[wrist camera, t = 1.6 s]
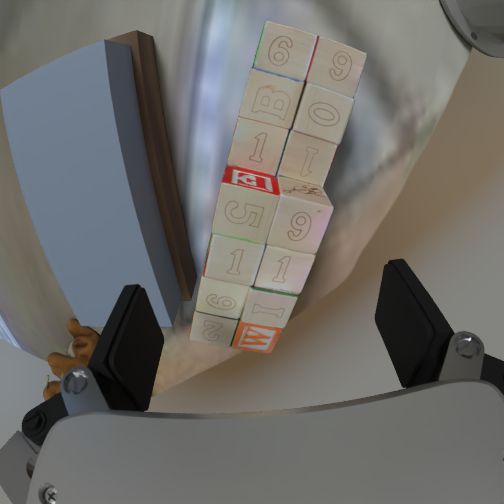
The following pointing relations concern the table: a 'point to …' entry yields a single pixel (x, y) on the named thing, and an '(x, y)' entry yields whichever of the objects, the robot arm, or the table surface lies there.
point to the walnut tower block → (160, 157)
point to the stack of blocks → (275, 187)
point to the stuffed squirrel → (71, 355)
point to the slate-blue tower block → (91, 181)
